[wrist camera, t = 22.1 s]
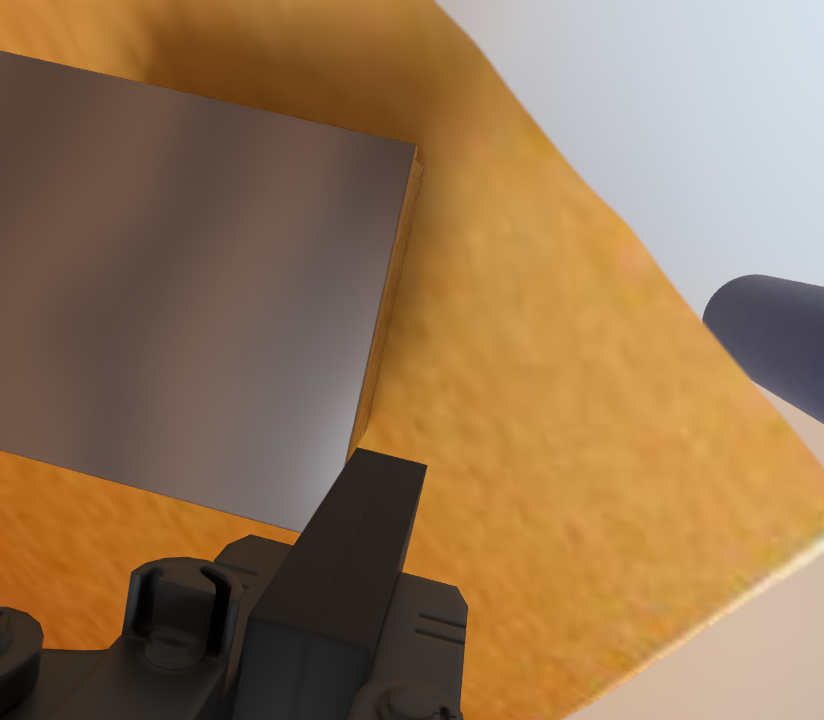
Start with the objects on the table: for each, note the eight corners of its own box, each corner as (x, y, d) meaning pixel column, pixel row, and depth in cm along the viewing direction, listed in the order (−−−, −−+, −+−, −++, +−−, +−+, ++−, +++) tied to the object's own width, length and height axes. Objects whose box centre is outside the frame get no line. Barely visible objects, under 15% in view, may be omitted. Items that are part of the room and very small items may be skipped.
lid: (418, 146, 28) (415, 144, 27) (333, 533, 31) (329, 541, 30) (-23, 46, 29) (-38, 42, 28) (-57, 426, 33) (-72, 431, 32)
